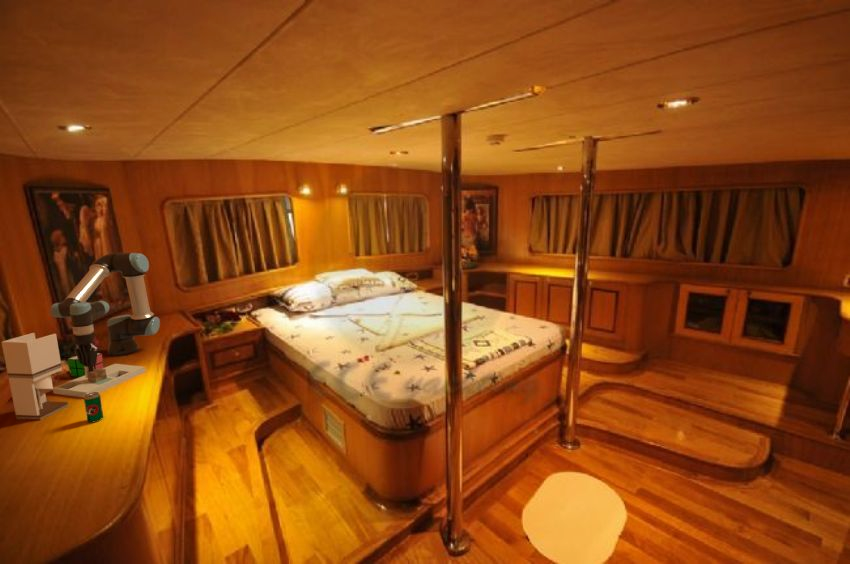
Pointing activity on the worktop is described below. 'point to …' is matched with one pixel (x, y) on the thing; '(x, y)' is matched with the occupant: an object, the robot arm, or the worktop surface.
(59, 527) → the worktop surface
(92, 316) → the robot arm
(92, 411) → the soda can
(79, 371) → the puzzle cube
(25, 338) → the coffee machine
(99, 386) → the board
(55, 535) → the worktop surface
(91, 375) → the walnut block
